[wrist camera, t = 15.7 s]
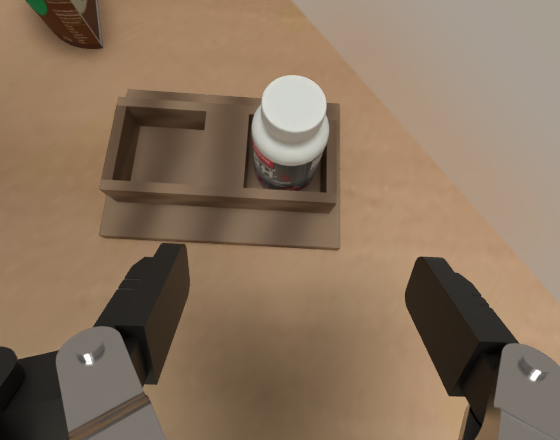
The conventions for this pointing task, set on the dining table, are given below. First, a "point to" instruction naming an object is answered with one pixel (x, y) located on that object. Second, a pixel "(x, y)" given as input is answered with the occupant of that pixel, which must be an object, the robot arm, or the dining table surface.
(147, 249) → the dining table surface
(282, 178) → the pill bottle
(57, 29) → the food container
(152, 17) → the dining table surface
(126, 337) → the robot arm
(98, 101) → the dining table surface
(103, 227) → the walnut organizer
